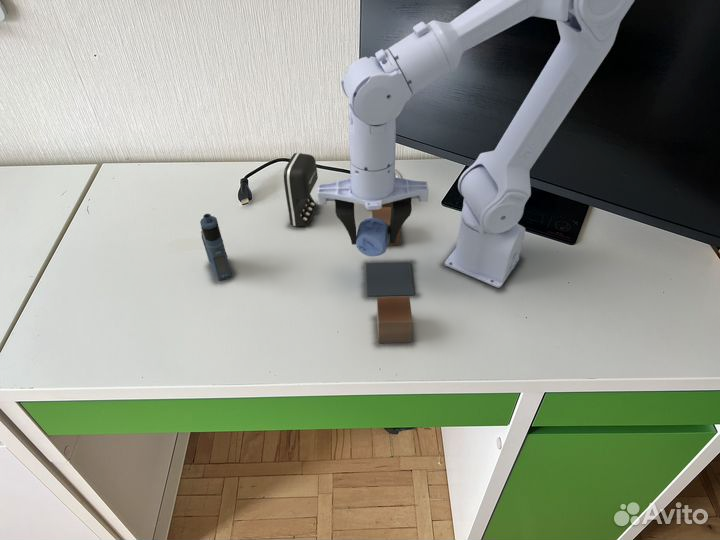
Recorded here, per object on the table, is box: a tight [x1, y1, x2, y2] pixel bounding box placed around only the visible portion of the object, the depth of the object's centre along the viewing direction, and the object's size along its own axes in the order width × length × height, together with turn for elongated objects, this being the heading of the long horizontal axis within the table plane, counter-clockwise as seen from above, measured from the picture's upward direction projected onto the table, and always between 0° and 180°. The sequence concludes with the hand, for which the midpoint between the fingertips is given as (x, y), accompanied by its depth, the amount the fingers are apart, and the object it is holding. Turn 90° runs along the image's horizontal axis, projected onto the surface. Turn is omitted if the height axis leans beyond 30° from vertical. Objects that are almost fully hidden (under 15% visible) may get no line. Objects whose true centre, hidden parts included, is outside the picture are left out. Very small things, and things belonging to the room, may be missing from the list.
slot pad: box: [365, 261, 415, 298], centre depth 82 cm, size 7×7×1 cm
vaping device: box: [199, 213, 233, 281], centre depth 80 cm, size 3×5×12 cm, turn 28°
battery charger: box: [283, 152, 319, 227], centre depth 89 cm, size 7×4×11 cm, turn 166°
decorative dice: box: [355, 217, 390, 257], centre depth 76 cm, size 4×4×4 cm
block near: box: [376, 296, 413, 344], centre depth 73 cm, size 4×4×4 cm
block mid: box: [371, 207, 402, 246], centre depth 88 cm, size 4×4×4 cm
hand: (372, 239), depth 76 cm, fingers closed on decorative dice, 5 cm apart
